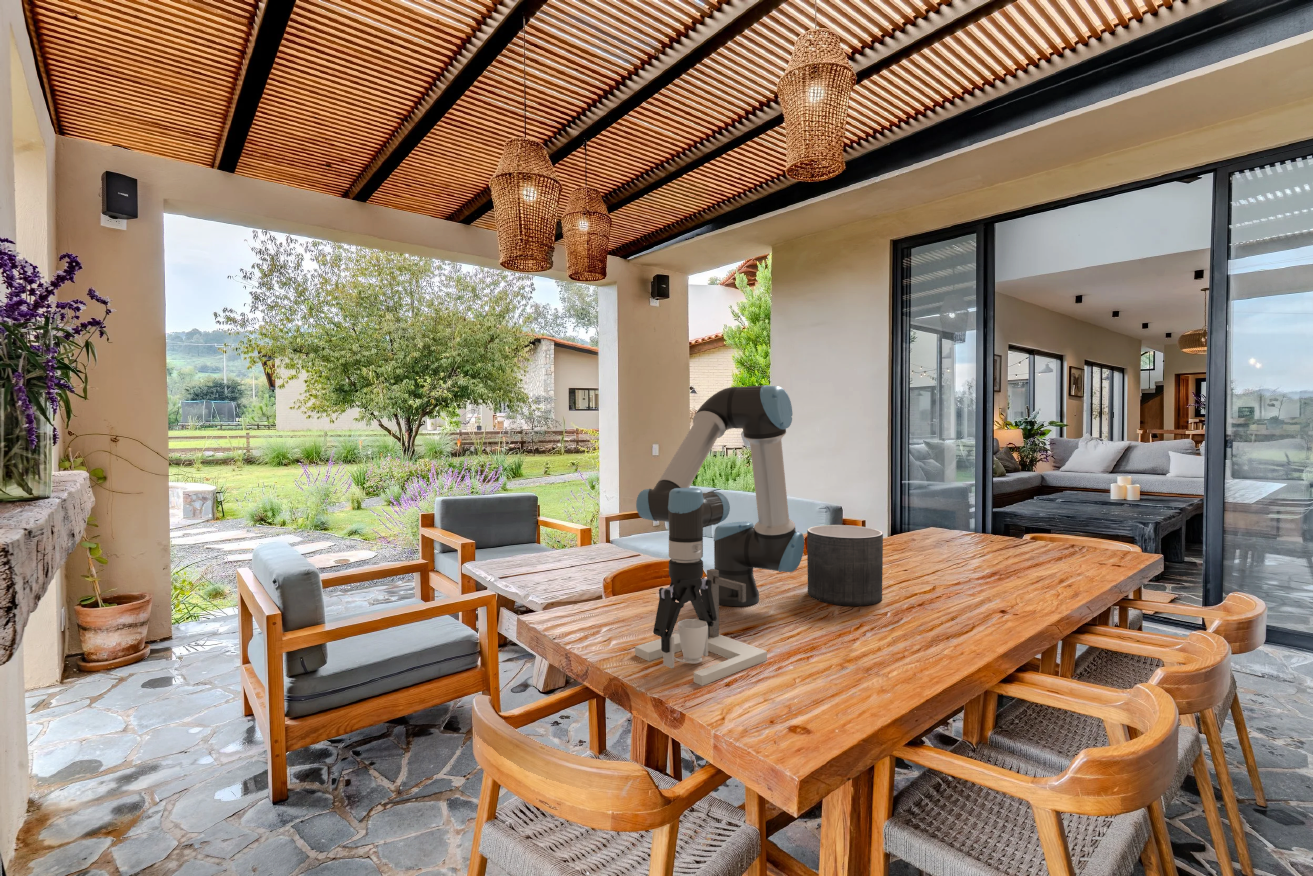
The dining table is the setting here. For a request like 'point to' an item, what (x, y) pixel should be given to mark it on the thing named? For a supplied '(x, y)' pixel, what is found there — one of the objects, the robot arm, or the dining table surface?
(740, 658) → the flat u-shaped bracket
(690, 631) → the cup
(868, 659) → the dining table surface
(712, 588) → the hook arm
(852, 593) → the planter
